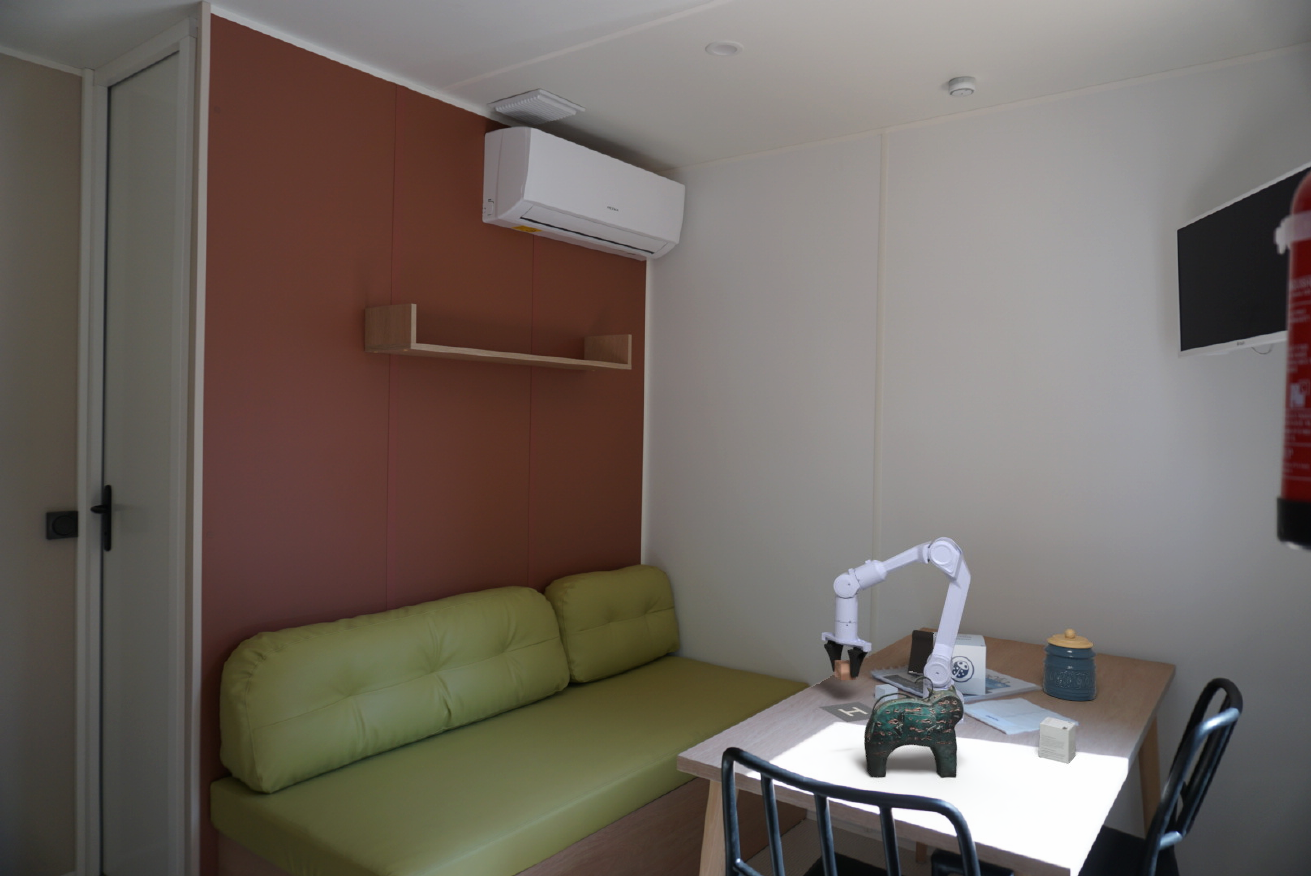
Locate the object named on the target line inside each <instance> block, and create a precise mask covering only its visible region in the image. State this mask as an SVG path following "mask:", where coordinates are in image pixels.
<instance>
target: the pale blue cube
mask: <svg viewBox="0 0 1311 876" xmlns="http://www.w3.org/2000/svg"><path fill="white" fill-rule="evenodd" d="M874 690H875V693H874V698H875V699H876V700H877V699H879V698H880V697H881V696H883V695H886V694H890V693H899V689H898V687H895V686H894V685H891V684H889V683H886V684H877V685H875V689H874ZM898 697H899V695H892V696H888V697H884V698H883V699H881V700H880V701H879V702H882V703H884V702H885V701H887V700H891V699H899V698H898Z"/></svg>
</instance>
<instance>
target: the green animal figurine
mask: <svg viewBox="0 0 1311 876" xmlns="http://www.w3.org/2000/svg"><path fill="white" fill-rule="evenodd" d="M922 679H928V680H929V681H930V682H931V684H932V689H931V688H928V687H927V690H928V691H929V696H928V697H925V698H923V697H922V698H921V697H918V696H917V697H916V696H913V695H908V694H906V693H902V692H898V693H890V694H886V695H883V696H881V697H880V698H879V699H876V700H875V702H874V704H873V706H872V714H871V716H870V718H869V719H867V720H868V721H867V722H866V725H865V727H864V728H865V729H864V736H863V739H864V742H863V743H864V751H865V760H866V770H867V773H868V774H869V776H870V777H871V778H876V779H877V778H878V779H879V778H886V777H887V763H888V758H889V757H890V755H891V754H892V753H893V752H894V751H895V750H897V749H899V748H901V747H904V746H917V747H918V746H919V747H926V748H929V749H930V751H931V752H932V755H933V758H934V763H935V770H936V773H937V774H938V776H939V777H940V778H943V779H944V778H957V768H958V758H957V757H958V756H957V755H958V754H957V753H958V743H957V742H958V741H957V736H956V733H957V732H956V730H955V727H956V726H957V725H958V724H957V723H958V722H959V721H960V720H961V719H962V717H963V714H964V715H965V707H964V708H963V703H962V701H961V699H960V698H959V696H958V695H957V693H956V689H957V688H956V686H955V685H954V686H953V685H951V686H950V688H949V689H948V690H938V691H935V690H933V683H932V681H931V679H929V678H928V677H925V676H918V677H916V678H915V680H914V682H913V683H914V684H917V682H918V681H919V680H922ZM955 688H956V689H955ZM892 695H898V696H899V695H900V696H904V697H900V698H898V699H891V700H887V701H885V702H882V703H880V704H878V703H879V702H881V701H880V700H881V699H883V698H884V697H888V696H892ZM927 698H928V699H927Z"/></svg>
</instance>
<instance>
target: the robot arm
mask: <svg viewBox="0 0 1311 876" xmlns="http://www.w3.org/2000/svg"><path fill="white" fill-rule="evenodd" d="M930 562H931V563H932V564H933V565H934V566H935V567H937V569H940V570H941V571H942V573H943V574H944V575H945V576H946V578H947V579H948V581H949V585H948V589H947V593H946V597H945V602H944V605H943V609H942V613H941V618H940V622H939V626H938V629H937V634H936V637H935V645H934V649H933V652H932V654H931V655H930V656H929V657H928V659H927V664H926V665H925V667H924V676H925V677H928V678H929V679H931V681H932V683H933V690H935V691H938V690H948V689H949V688H950V686H951V685H953V686H955V681H954V680H953V678H952V672H953V670H954V668H955V667H954V661H953V654H954V649H955V646H956V642H957V641H956V640H957V638H958V634H959V630H960V629H959V628H960V624H961V621H962V616H963V612H964V609H965V605H966V601H967V596H968V592H969V588H970V585H971V580H972V575H971V572H970V570H969V567H968V564H967V562H966V559H965V555H964V553H963V550H962V549H961V548H960V546H959V545H958V544H957V543H956V542H955V541H954V540H953V539H951V538H950V537H947V536H946V537H945V536H943V537H942V536H941V537H939V538H936V539H935V540H934V541H933V540H930V541H926V542H923V543H920V544H917V545H915V546H912V547H911V548H909V549H907V550H905V551H901V553H898V554H897V555H895V556H892V557H890V558H887V559H886V560H884V561H882V560H877V559H872V560H871V559H867V560H865V562H864V564H862V565H860V566H857V567H855V568H853V567H851V568H849V569H847V571H846V572H843V573H841V574H840V575H839V576H837V577H836V578H835V580H834V581H833V590H834V592H835V602H834V632H829V631H825V632H821V641H824V642H826V641H827V642H826V643H824V644H823V648H824V649H825V652H826V653H827V655H828V658H829V661H830V665H831V669H832V672H834V673H835V660H842V654H843V649H844V646H845V647H849V648H851V649H847V651H846V652H847V655H848V658H849V659H848V660H850V674H851V677H852V678H854V677H856V678H858V677H859V674H860V671H861V667H862V665H863V662H864V660H865V658H866V656H867V655H868V653H869V652H871V651H872V642H868V641H866V640H864V639H861V638H860V637H859V636H858V633H859V630H858V628H859V625H858V623H859V622H858V621H859V619H858V618H859V617H858V616H859V602H858V592H859V591H864V590H868V589H869V588H872V587H874V586H876V585H879V584H881V583H883V582H885V581H886V580H887V577H888V575H889V574H890V573H893V572H895V571H898V570H900V569H903V568H906V567H908V566H910V565H913V564H916V563H920V564H926V565H928V564H929V563H930ZM922 682H923V683H922V698H925V697H928V696H929V691H928V690H927V687H928V688H931V689H932V684H931V682H930V681H929V680H928V679H923V681H922ZM955 689H956V693H957V695H958V696H959V698H960V699H961V701H962V703H963V708H964V709H965V699H964V695H963V694H962V692H961V691H959V690H958V689H957V687H955ZM927 699H928V698H927ZM961 724H964V725H968V724H967V721H965V713H964V714H963V717H962V719H961V720H960V721H959V722H958V723H957V724H956V725H961Z"/></svg>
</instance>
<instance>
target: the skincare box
mask: <svg viewBox="0 0 1311 876" xmlns="http://www.w3.org/2000/svg"><path fill="white" fill-rule="evenodd" d="M1038 731H1039V733H1038V734H1039V735H1038V736H1039V738H1038V756H1039V758H1041V759H1042V758H1043V759H1046V760H1049V761H1054V762H1055V761H1056V762H1059V763H1063V764H1066V765H1069V764H1070V763H1071V762H1072V760H1073V759H1074V758H1075V757H1076V745H1077V743H1076V741H1077V740H1076V739H1077V723H1076V722H1072V721H1067V720H1063V719H1057V718H1055V717H1051V716H1047V717H1046V718H1044V719H1043V720H1042V721H1041V722H1040V723H1039V729H1038Z"/></svg>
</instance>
